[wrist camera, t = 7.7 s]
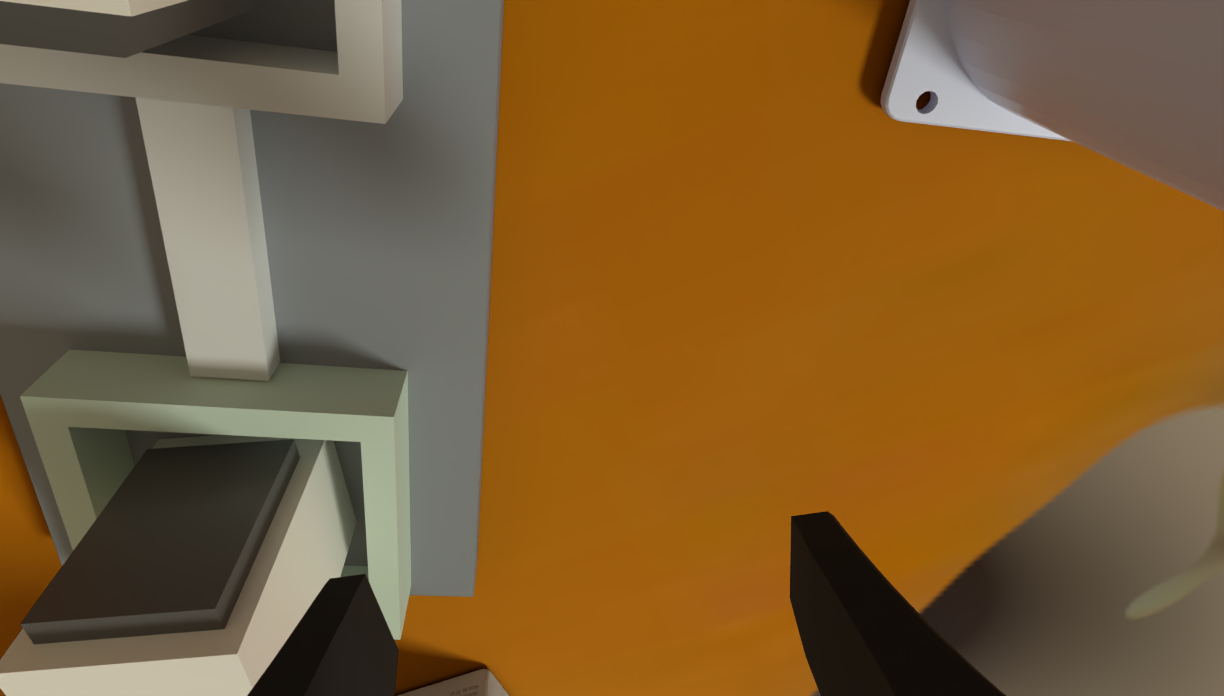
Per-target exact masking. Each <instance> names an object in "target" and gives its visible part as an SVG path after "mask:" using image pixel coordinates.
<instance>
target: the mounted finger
mask: <svg viewBox="0 0 1224 696" xmlns="http://www.w3.org/2000/svg"><path fill="white" fill-rule="evenodd" d="M261 6H264V0H0V44H5V45H14V46H23V47H32V48H41V49H50V50H59V51H67V52H76V53H85V54H94V55H103V56H112V57H121V58H127V57H130V56H132V55H135V54H137V53H140V52H143V51H145V50H148V49H151V48H153V47H156V46H159V45H161V44H164V43H166V42H169V41H172V40H174V39H177V38H180V37H182V36H185V35H187V34H190V33H193V32H195V31H198V30H201V29H203V28H206V27H209V26H211V25H214V24H216V23H219V22H222V21H224V20H227V19H230V18H232V17H235V16H237V15H240V14H243V13H245V12H248V11H251V10H253V9H256V8H259V7H261Z"/></svg>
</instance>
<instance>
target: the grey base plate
mask: <svg viewBox="0 0 1224 696" xmlns="http://www.w3.org/2000/svg"><path fill="white" fill-rule="evenodd" d="M503 11H504V0H264V6H261V7H259V8H256V9H253V10H251V11H248V12H245V13H243V14H240V15H237V16H235V17H232V18H230V19H227V20H224V21H222V22H219V23H216V24H214V25H211V26H209V27H206V28H203V29H201V30H198V31H195V32H193V33H190V34H187V35H185V36H182V37H180V38H177V39H174V40H172V41H169V42H166V43H164V44H161V45H159V46H156V47H153V48H151V49H148V50H145V51H143V52H140V53H137V54H135V55H132V56H130V57H127V58H121V57H112V56H103V55H94V54H85V53H76V52H67V51H59V50H50V49H41V48H32V47H23V46H14V45H5V44H0V395H1V398H2V400H3V403H4V406H5V409H6V412H7V414H8V417H9V420H10V423H11V425H12V428H13V431H14V434H15V437H16V439H17V442H18V445H19V448H20V450H21V453H22V456H23V459H24V461H25V464H26V467H27V470H28V473H29V475H30V478H31V481H32V484H33V486H34V489H35V492H36V495H37V498H38V500H39V503H40V506H41V509H42V511H43V514H44V517H45V520H46V523H47V525H48V528H49V531H50V534H51V536H52V539H53V542H54V545H55V547H56V550H57V553H58V556H59V559H60V561H61V564H62V566H63V564H64V563H65V562H66V560H67V559H68V557H69V556H70V555H71V553H72V552H73V551H74V549H75V548H76V546H77V545H78V544H79V542H80V541H81V540H82V538H83V537H84V535H85V534H86V533H87V531H88V530H89V528H90V527H91V526H92V524H93V523H94V522H95V520H96V519H97V517H98V516H99V515H100V513H101V512H102V511H103V509H104V508H105V506H106V505H107V504H108V502H109V501H110V500H111V498H112V497H113V495H114V494H115V493H116V491H117V490H118V489H119V487H120V486H121V484H122V483H123V482H124V480H125V479H126V477H127V476H128V475H129V473H130V472H131V471H132V469H133V468H134V466H135V465H136V464H137V462H138V461H139V460H140V458H141V457H142V455H143V454H144V453H145V451H146V450H147V449H152V448H153V446H154V445H155V443H156V442H157V441H158V439H169V438H184V437H198V436H213V435H236V436H255V437H274V438H294V439H313V440H333V441H334V444H335V448H336V451H337V455H338V458H339V462H340V465H341V469H342V472H343V475H344V479H345V482H346V486H347V489H348V493H349V496H350V500H351V503H352V507H353V510H354V514H355V517H356V521H357V523H356V527H355V530H354V533H353V536H352V540H351V543H350V546H349V550H348V553H347V556H346V559H345V563H344V566H343V569H342V573H341V576H340V577H345V576H352V575H360V574H366V576H367V578H368V581H369V583H370V585H371V588H372V590H373V592H374V595H375V597H376V599H377V602H378V604H379V606H380V609H381V611H382V613H383V615H384V618H385V620H386V622H387V625H388V627H389V629H390V632H391V634H392V636H393V639H398V640H400V639H401V634H402V629H403V624H404V619H405V614H406V609H407V604H408V599H409V595H431V596H470V597H473V595H474V585H475V576H476V566H477V552H478V531H479V510H480V489H481V469H482V448H483V427H484V406H485V385H486V365H487V344H488V323H489V302H490V282H491V261H492V240H493V219H494V198H495V178H496V157H497V136H498V115H499V94H500V74H501V53H502V32H503Z"/></svg>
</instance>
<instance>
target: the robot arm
mask: <svg viewBox="0 0 1224 696" xmlns="http://www.w3.org/2000/svg"><path fill="white" fill-rule="evenodd" d="M926 91H929V92H930V94H931V96H930V101H929V103H928V104H927V106H925V107H924V108H922V109H919V110H917V109H916V101H917V99H918V98H919V96H920V95H921V94H923V93H924V92H926ZM880 103H881V106H882V110H883V111H884V112H885V113H886V114H887V115H888V116H889V117H891V118H892V119H895V120H898V121H904V122H912V123H921V124H929V125H938V126H946V127H955V128H963V129H972V130H981V131H989V132H998V133H1006V134H1015V135H1023V136H1032V137H1040V138H1049V139H1057V140H1066V141H1073V142H1075V143H1078V144H1080V145H1082V146H1084V147H1086V148H1088V149H1091V150H1093V151H1095V152H1097V153H1099V154H1101V155H1103V156H1106V157H1108V158H1110V159H1112V160H1114V161H1116V162H1119V163H1121V164H1123V165H1125V166H1127V167H1129V168H1132V169H1134V170H1136V171H1138V172H1140V173H1142V174H1145V175H1147V176H1149V177H1151V178H1153V179H1155V180H1157V181H1160V182H1162V183H1164V184H1166V185H1168V186H1170V187H1173V188H1175V189H1177V190H1179V191H1181V192H1183V193H1186V194H1188V195H1190V196H1192V197H1194V198H1196V199H1199V200H1201V201H1203V202H1205V203H1207V204H1209V205H1212V206H1214V207H1216V208H1218V209H1220V210H1222V211H1224V0H910V2H909V6H908V9H907V12H906V15H905V19H904V22H903V25H902V29H901V32H900V35H899V38H898V42H897V45H896V48H895V52H894V55H893V58H892V61H891V65H890V68H889V71H888V74H887V78H886V81H885V84H884V88H883V91H882V94H881V102H880ZM790 600H791V603H792V607H793V611H794V615H795V619H796V622H797V626H798V630H799V633H800V637H801V641H802V644H803V648H804V651H805V655H806V658H807V661H808V663H809V666H810V669H811V671H812V674H813V676H814V679H815V682H816V684H817V687H818V689H819V692H820V694H821V696H1006V695H1005V694H1003V693H1002V692H1001V691H1000V690H999V689H998V688H996V687H995V686H994V685H993V684H992V683H991V682H990V681H989V680H987V679H986V678H985V677H984V676H983V675H982V674H981V673H979V672H978V671H977V670H976V669H975V668H974V667H973V666H972V665H971V664H970V663H969V662H968V661H966V660H965V659H964V658H963V657H962V656H961V655H960V654H959V653H958V652H957V651H956V650H955V649H954V648H953V647H952V646H951V645H950V644H949V643H948V642H947V641H946V640H945V639H943V638H942V637H941V636H940V635H939V634H938V633H937V632H936V631H935V630H934V629H933V628H932V627H931V626H930V625H929V624H928V623H927V622H926V621H925V620H924V618H923V617H922V616H921V615H920V614H919V613H918V612H917V611H916V610H915V609H914V608H913V607H912V606H911V605H910V604H909V603H908V602H907V601H906V600H905V598H904V597H903V596H902V595H901V594H900V593H899V592H898V591H897V590H896V589H895V588H894V587H893V586H892V585H891V583H890V582H889V581H888V580H887V579H886V578H885V577H884V576H883V575H882V573H881V572H880V571H879V570H878V569H877V568H876V567H875V565H874V564H873V563H872V562H871V561H870V560H869V559H868V557H867V556H866V555H865V554H864V553H863V552H862V550H861V549H860V548H859V547H858V546H857V544H856V543H855V542H854V541H853V539H852V538H851V537H850V536H849V535H848V533H847V532H846V531H845V530H844V528H843V527H842V526H841V525H840V523H839V522H838V521H837V519H836V518H835V517H834V516H833V515H832V514H830V513H829V512H828V511H827V512H820V513H812V514H805V515H798V516H791V566H790ZM398 651H399V650H398V648H397V645H396V643H395V641H394V639H393V636H392V634H391V632H390V629H389V627H388V625H387V622H386V620H385V618H384V615H383V613H382V611H381V609H380V606H379V604H378V602H377V599H376V597H375V595H374V592H373V590H372V588H371V585H370V583H369V581H368V578H367V576H366V574H360V575H352V576H345V577H338V578H330V579H329V580H328V581H327V583H326V584H325V585H324V587H323V588H322V589H321V591H320V592H319V594H318V595H317V597H316V598H315V600H314V601H313V602H312V604H311V605H310V607H309V608H308V610H307V611H306V613H305V614H304V616H303V617H302V619H301V620H300V622H299V623H298V624H297V626H296V627H295V629H294V630H293V632H292V633H291V635H290V636H289V638H288V639H287V640H286V642H285V643H284V645H283V646H282V648H281V649H280V651H279V652H278V653H277V655H276V656H275V658H274V659H273V661H272V662H271V663H270V665H269V666H268V668H267V669H266V670H265V672H264V673H263V674H262V676H261V677H260V679H259V680H258V681H257V683H256V684H255V686H254V687H253V688H252V690H251V691H250V692H249V694H248V695H247V696H394V693H395V684H396V673H397V662H398Z"/></svg>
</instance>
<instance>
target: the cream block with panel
mask: <svg viewBox="0 0 1224 696" xmlns="http://www.w3.org/2000/svg"><path fill="white" fill-rule="evenodd" d="M356 523H357V521H356V517H355V514H354V510H353V507H352V503H351V500H350V496H349V493H348V489H347V486H346V482H345V479H344V475H343V472H342V469H341V465H340V462H339V458H338V455H337V451H336V448H335V444H334V441H333V440H313V439H294V438H274V437H255V436H236V435H213V436H198V437H184V438H169V439H158V441H157V442H156V443H155V445H154V446H153V448H152V449H147V450H146V451H145V453H144V454H143V455H142V457H141V458H140V460H139V461H138V462H137V464H136V465H135V466H134V468H133V469H132V471H131V472H130V473H129V475H128V476H127V477H126V479H125V480H124V482H123V483H122V484H121V486H120V487H119V489H118V490H117V491H116V493H115V494H114V495H113V497H112V498H111V500H110V501H109V502H108V504H107V505H106V506H105V508H104V509H103V511H102V512H101V513H100V515H99V516H98V517H97V519H96V520H95V522H94V523H93V524H92V526H91V527H90V528H89V530H88V531H87V533H86V534H85V535H84V537H83V538H82V540H81V541H80V542H79V544H78V545H77V546H76V548H75V549H74V551H73V552H72V553H71V555H70V556H69V557H68V559H67V560H66V562H65V563H64V564H63V566H62V567H61V568H60V570H59V571H58V573H57V574H56V575H55V577H54V578H53V580H52V581H51V582H50V584H49V585H48V586H47V588H46V589H45V591H44V592H43V593H42V595H41V596H40V597H39V599H38V600H37V602H36V603H35V604H34V606H33V607H32V608H31V610H30V611H29V613H28V614H27V615H26V617H25V618H24V620H23V621H22V622H21V624H20V625H21V626H22V628H23V629H22V630H21V632H20V633H19V634H18V636H17V637H16V639H15V640H14V641H13V643H12V644H11V646H10V647H9V648H8V650H7V651H6V653H5V654H4V655H3V657H2V658H1V660H0V688H1V690H2V691H3V692H4V694H5V695H6V696H247V695H248V694H249V692H250V691H251V690H252V688H253V687H254V686H255V684H256V683H257V681H258V680H259V679H260V677H261V676H262V674H263V673H264V672H265V670H266V669H267V668H268V666H269V665H270V663H271V662H272V661H273V659H274V658H275V656H276V655H277V653H278V652H279V651H280V649H281V648H282V646H283V645H284V643H285V642H286V640H287V639H288V638H289V636H290V635H291V633H292V632H293V630H294V629H295V627H296V626H297V624H298V623H299V622H300V620H301V619H302V617H303V616H304V614H305V613H306V611H307V610H308V608H309V607H310V605H311V604H312V602H313V601H314V600H315V598H316V597H317V595H318V594H319V592H320V591H321V589H322V588H323V587H324V585H325V584H326V583H327V581H328V580H329V579H330V578H338V577H340V576H341V573H342V569H343V566H344V563H345V559H346V556H347V553H348V550H349V546H350V543H351V540H352V536H353V533H354V530H355V527H356Z"/></svg>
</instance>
